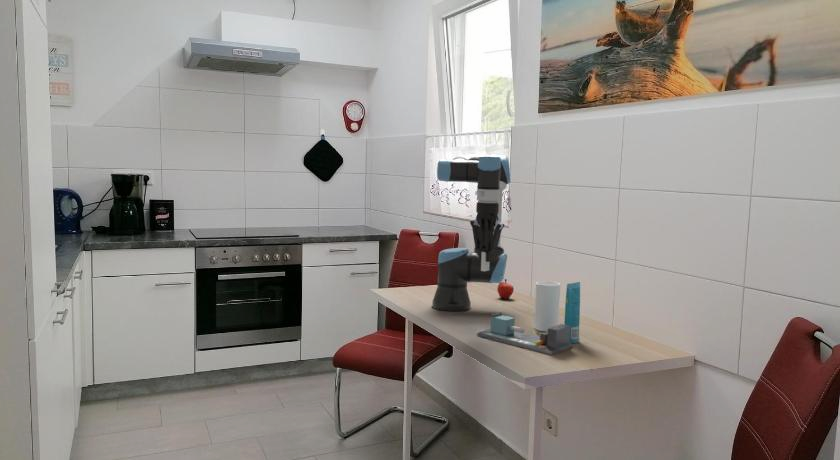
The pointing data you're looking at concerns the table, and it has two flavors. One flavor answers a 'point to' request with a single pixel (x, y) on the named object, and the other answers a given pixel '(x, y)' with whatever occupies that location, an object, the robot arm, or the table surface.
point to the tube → (573, 310)
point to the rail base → (535, 339)
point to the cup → (546, 305)
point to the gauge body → (504, 324)
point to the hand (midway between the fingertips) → (485, 270)
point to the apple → (505, 290)
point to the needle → (542, 338)
